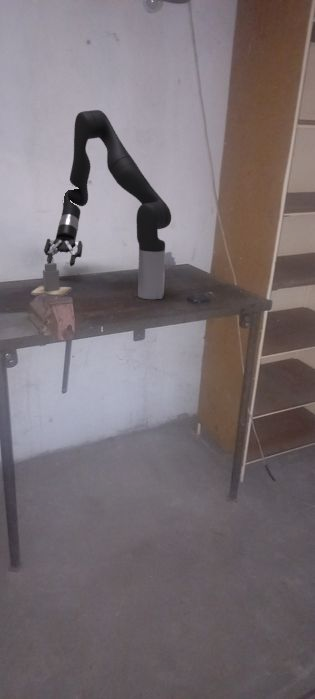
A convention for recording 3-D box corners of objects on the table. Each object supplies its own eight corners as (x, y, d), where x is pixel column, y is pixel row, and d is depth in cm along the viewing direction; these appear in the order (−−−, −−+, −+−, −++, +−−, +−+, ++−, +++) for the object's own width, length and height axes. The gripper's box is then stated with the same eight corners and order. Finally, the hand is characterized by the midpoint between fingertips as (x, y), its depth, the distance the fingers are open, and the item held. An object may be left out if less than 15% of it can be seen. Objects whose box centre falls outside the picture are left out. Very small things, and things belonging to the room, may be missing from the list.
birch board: (71, 290, 194) (71, 287, 194) (63, 297, 185) (63, 294, 184) (40, 287, 195) (40, 285, 195) (31, 295, 186) (30, 292, 186)
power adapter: (60, 290, 190) (59, 257, 185) (45, 291, 187) (44, 258, 183) (57, 287, 192) (56, 255, 188) (43, 289, 190) (41, 256, 185)
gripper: (47, 222, 201) (39, 257, 195) (83, 224, 200) (76, 260, 193) (52, 233, 208) (44, 268, 202) (87, 235, 206) (80, 270, 200)
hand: (60, 264), depth 198 cm, fingers open, 8 cm apart
